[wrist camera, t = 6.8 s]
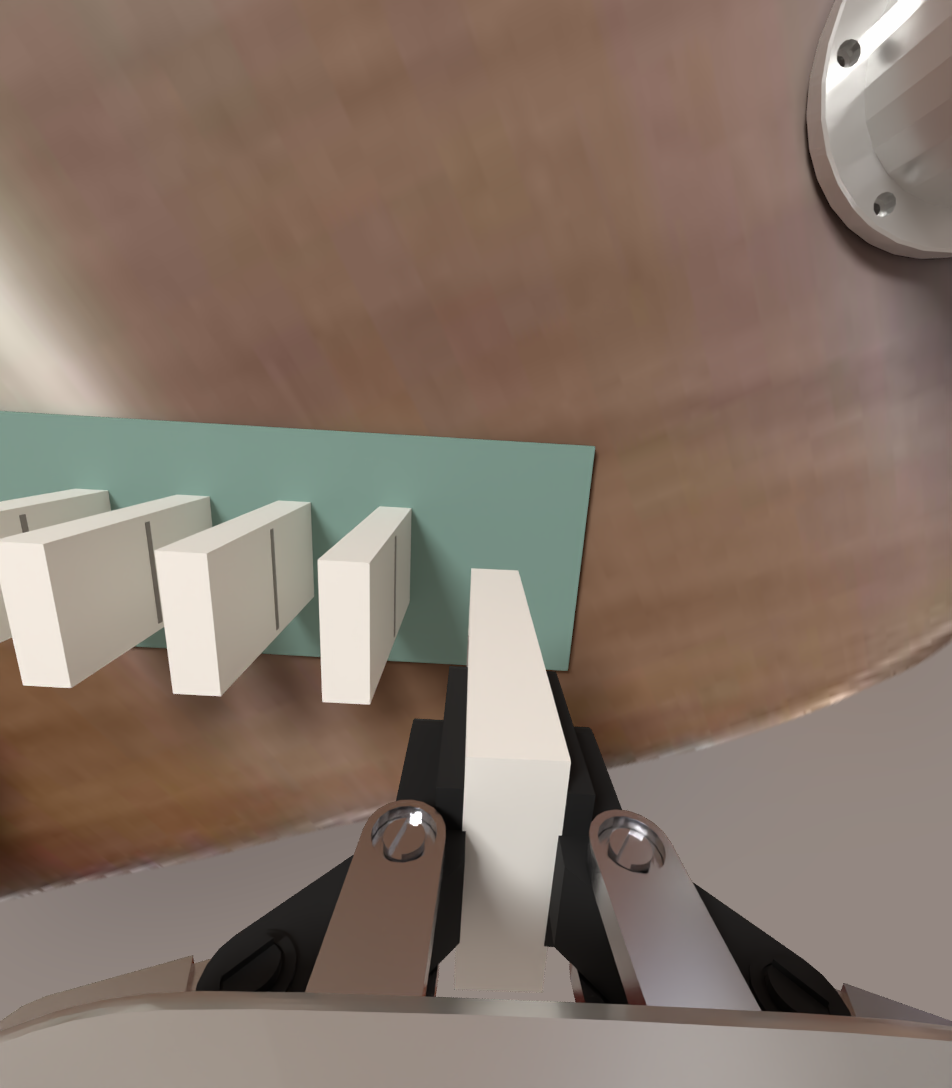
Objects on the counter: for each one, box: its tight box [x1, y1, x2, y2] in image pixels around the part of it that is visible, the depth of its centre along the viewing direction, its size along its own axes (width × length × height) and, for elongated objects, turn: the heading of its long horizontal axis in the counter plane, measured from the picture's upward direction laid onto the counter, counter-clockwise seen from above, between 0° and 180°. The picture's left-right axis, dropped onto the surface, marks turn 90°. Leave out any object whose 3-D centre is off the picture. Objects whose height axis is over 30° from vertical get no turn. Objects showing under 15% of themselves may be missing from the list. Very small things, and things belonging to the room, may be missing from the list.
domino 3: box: [154, 500, 314, 696], centre depth 19 cm, size 2×5×9 cm, turn 177°
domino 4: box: [318, 506, 412, 705], centre depth 19 cm, size 2×5×9 cm, turn 177°
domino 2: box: [0, 495, 212, 688], centre depth 19 cm, size 2×5×9 cm, turn 177°
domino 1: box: [0, 489, 111, 643], centre depth 19 cm, size 2×5×9 cm, turn 177°
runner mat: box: [0, 411, 595, 671], centre depth 24 cm, size 30×12×1 cm, turn 87°
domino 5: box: [454, 568, 571, 993], centre depth 12 cm, size 2×5×9 cm, turn 177°
